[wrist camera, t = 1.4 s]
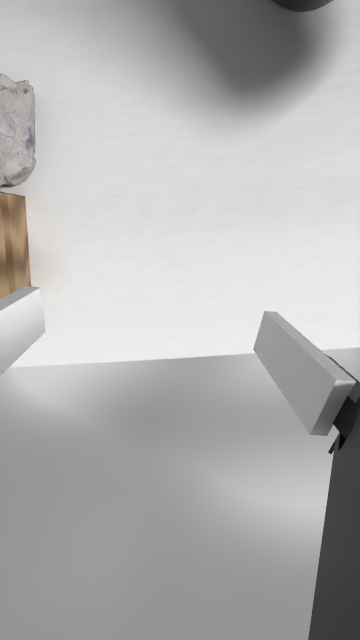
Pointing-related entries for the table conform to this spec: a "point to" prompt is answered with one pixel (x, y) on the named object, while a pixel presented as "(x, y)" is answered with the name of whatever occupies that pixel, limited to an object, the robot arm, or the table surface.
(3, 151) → the stone
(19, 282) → the walnut slab
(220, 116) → the table surface
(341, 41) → the table surface
